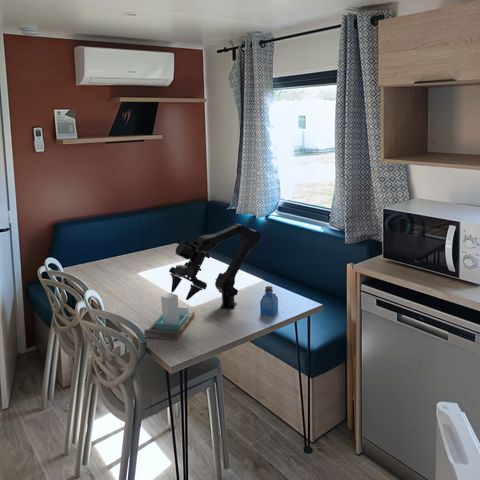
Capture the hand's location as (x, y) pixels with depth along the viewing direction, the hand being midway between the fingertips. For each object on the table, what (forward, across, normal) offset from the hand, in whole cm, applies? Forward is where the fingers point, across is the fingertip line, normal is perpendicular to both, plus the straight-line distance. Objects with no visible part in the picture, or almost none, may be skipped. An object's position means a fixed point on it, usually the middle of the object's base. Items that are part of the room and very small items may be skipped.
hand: (179, 295), depth 221 cm
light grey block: (+12, +4, -1) cm, 12 cm away
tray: (+11, +2, +2) cm, 11 cm away
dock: (+13, +4, -1) cm, 14 cm away
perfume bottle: (-10, +28, +28) cm, 41 cm away
